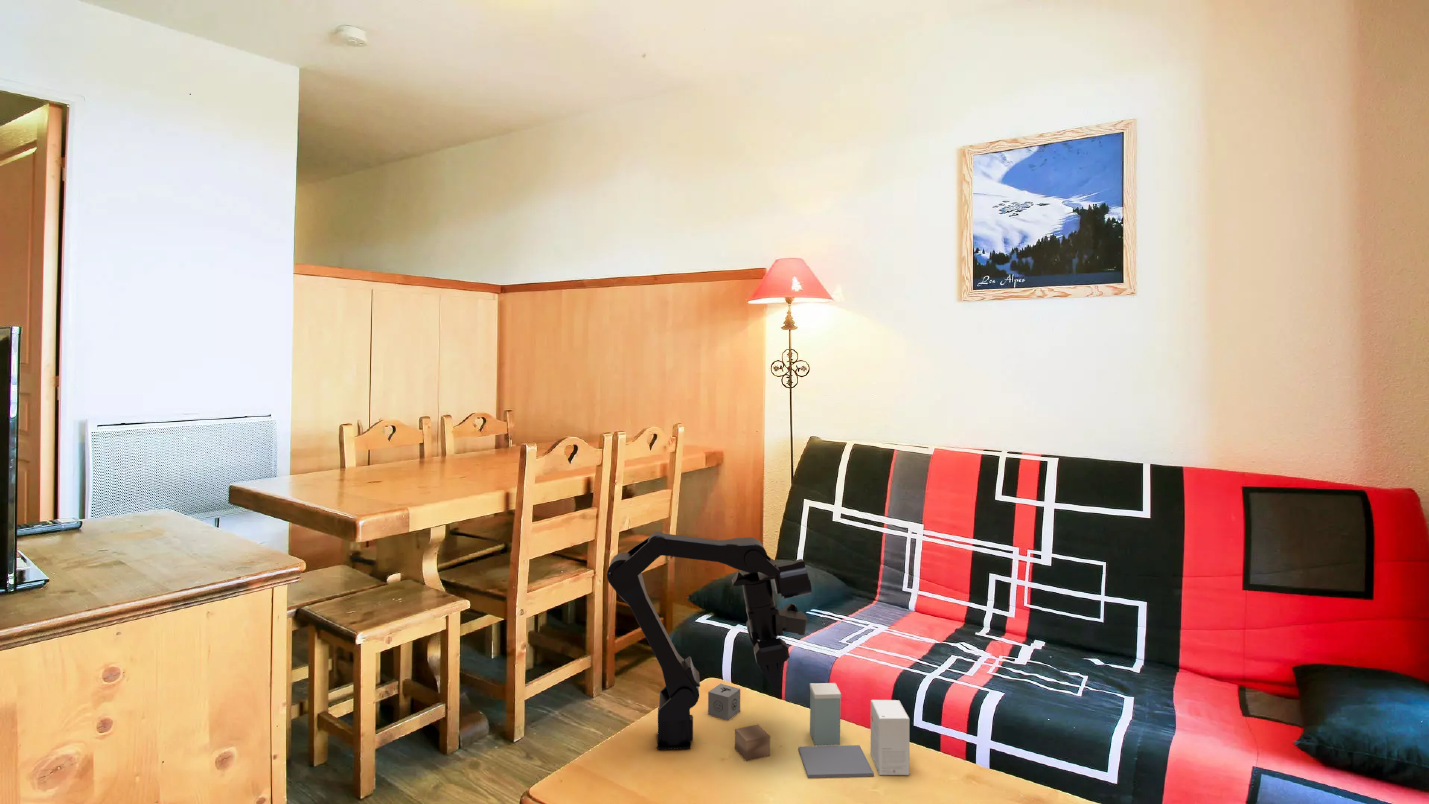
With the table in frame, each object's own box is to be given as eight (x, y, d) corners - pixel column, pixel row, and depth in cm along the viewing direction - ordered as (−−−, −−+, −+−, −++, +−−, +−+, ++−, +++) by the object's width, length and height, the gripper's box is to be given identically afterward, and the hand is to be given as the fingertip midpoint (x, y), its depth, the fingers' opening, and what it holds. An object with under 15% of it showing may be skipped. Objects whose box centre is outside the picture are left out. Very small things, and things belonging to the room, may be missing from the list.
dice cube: (740, 711, 155) (740, 688, 155) (728, 721, 151) (728, 697, 151) (720, 706, 158) (720, 683, 158) (708, 715, 153) (708, 691, 153)
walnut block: (746, 761, 135) (746, 740, 135) (734, 749, 139) (734, 728, 139) (769, 756, 137) (770, 735, 137) (757, 744, 141) (758, 724, 141)
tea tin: (814, 745, 141) (814, 694, 140) (809, 732, 146) (809, 683, 145) (840, 745, 141) (841, 694, 141) (834, 732, 146) (835, 683, 146)
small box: (909, 776, 130) (910, 719, 130) (878, 776, 130) (879, 718, 130) (899, 753, 138) (899, 699, 138) (869, 753, 138) (870, 698, 138)
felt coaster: (807, 778, 129) (807, 774, 129) (798, 749, 139) (798, 746, 139) (873, 776, 130) (873, 773, 130) (859, 748, 140) (859, 745, 140)
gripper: (808, 610, 133) (823, 691, 133) (792, 581, 152) (805, 653, 152) (749, 621, 132) (764, 703, 133) (740, 592, 151) (753, 664, 152)
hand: (773, 679), depth 142 cm, fingers open, 9 cm apart
